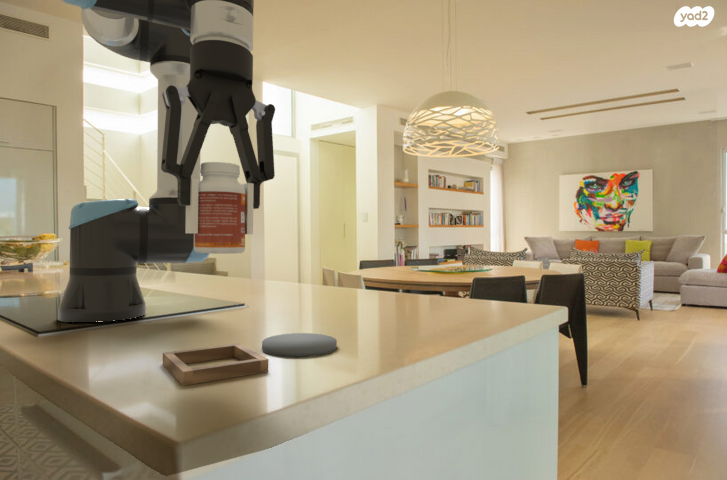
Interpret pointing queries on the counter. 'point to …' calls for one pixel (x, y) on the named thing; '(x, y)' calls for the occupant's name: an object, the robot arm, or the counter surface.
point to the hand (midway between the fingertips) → (219, 233)
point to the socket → (187, 376)
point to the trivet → (299, 345)
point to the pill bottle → (220, 210)
